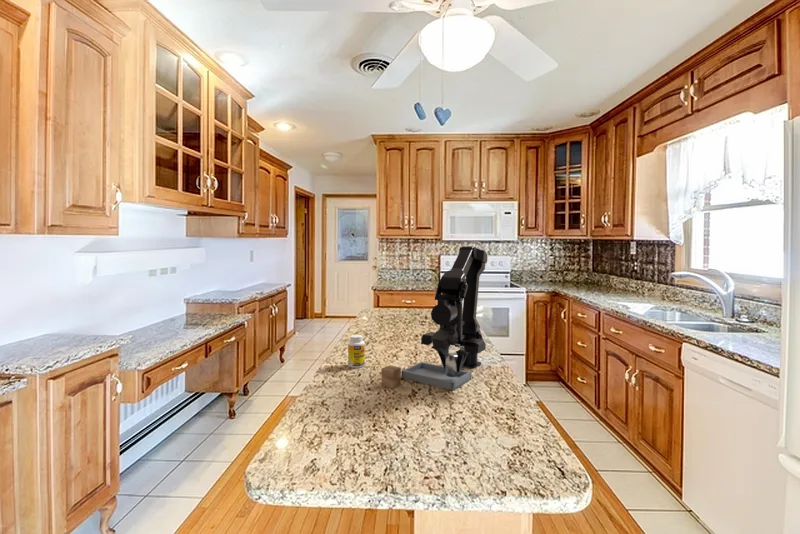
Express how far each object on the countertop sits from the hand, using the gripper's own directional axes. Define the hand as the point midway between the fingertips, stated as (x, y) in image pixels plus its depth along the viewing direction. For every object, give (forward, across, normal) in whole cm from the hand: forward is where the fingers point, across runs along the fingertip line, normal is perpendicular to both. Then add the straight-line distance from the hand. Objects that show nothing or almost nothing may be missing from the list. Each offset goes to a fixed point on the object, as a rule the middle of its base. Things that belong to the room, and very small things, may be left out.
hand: (452, 370), depth 118 cm
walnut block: (+4, -14, -12) cm, 18 cm away
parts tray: (+4, -6, 0) cm, 7 cm away
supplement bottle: (+4, -34, -5) cm, 34 cm away
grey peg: (+1, 0, 0) cm, 1 cm away
